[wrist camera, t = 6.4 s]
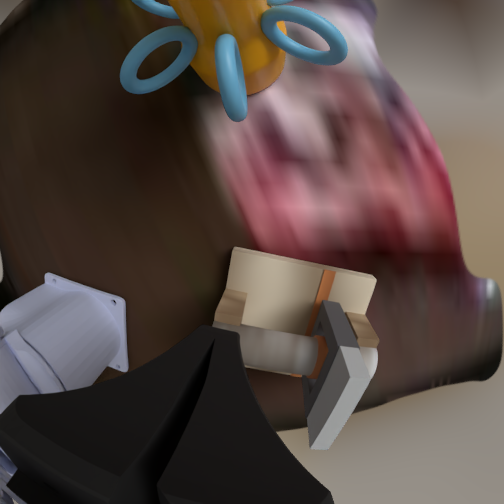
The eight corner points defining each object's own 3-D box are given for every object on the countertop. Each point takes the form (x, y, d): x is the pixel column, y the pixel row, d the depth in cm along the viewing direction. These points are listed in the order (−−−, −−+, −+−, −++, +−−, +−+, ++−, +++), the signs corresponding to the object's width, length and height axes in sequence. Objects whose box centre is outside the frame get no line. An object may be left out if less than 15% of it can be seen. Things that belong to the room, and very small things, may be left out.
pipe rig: (216, 353, 21) (199, 402, 16) (234, 246, 19) (217, 275, 13) (334, 373, 21) (346, 423, 15) (372, 275, 19) (404, 310, 13)
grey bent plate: (300, 364, 19) (307, 449, 11) (322, 299, 18) (348, 377, 10) (316, 366, 19) (329, 449, 11) (339, 302, 18) (373, 378, 10)
